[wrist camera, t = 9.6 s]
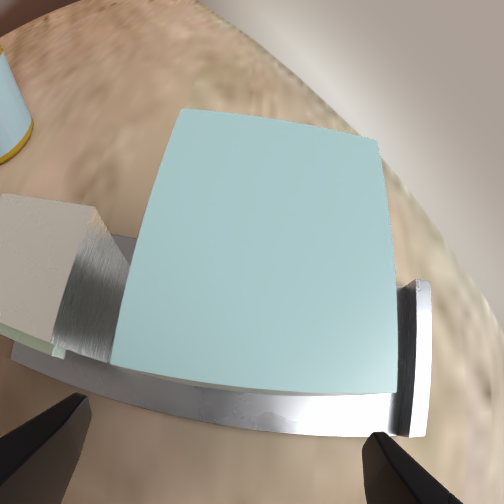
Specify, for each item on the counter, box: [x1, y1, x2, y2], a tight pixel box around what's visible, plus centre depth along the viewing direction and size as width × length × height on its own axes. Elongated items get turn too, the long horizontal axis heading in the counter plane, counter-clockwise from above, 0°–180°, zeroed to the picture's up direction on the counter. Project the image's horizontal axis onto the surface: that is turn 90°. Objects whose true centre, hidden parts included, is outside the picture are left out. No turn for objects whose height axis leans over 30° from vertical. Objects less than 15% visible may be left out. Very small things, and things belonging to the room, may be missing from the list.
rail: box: [0, 193, 432, 437], centre depth 15 cm, size 26×10×8 cm, turn 81°
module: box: [110, 108, 398, 396], centre depth 12 cm, size 6×5×13 cm
